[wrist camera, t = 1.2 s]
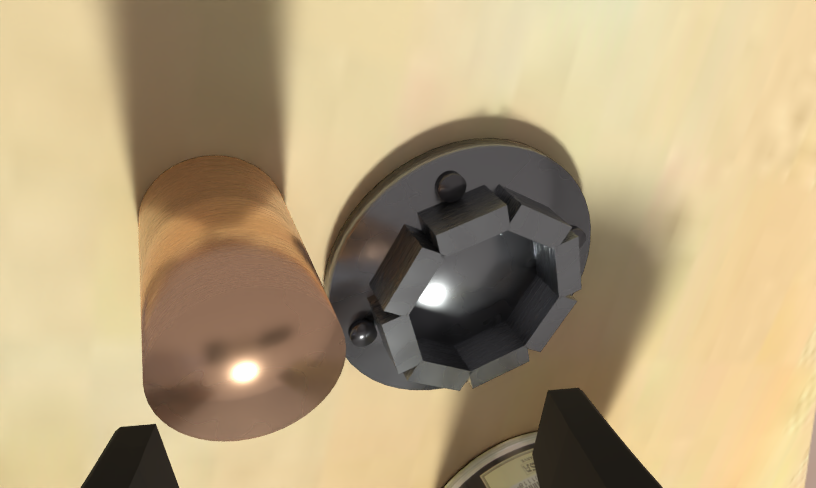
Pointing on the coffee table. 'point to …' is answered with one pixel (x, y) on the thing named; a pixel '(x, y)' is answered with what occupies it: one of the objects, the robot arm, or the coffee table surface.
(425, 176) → the flange
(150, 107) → the coffee table surface
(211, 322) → the pipe stub
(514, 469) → the coffee can
